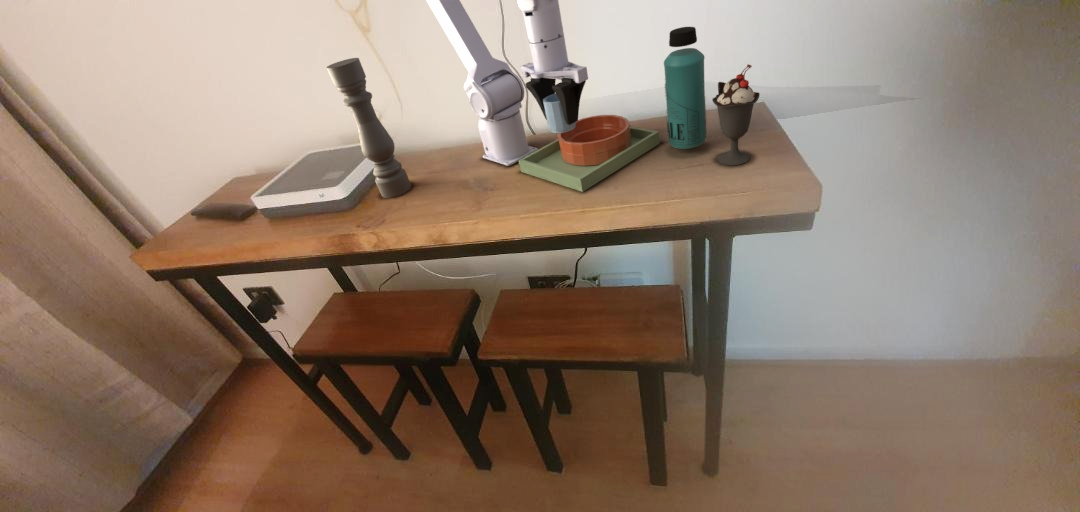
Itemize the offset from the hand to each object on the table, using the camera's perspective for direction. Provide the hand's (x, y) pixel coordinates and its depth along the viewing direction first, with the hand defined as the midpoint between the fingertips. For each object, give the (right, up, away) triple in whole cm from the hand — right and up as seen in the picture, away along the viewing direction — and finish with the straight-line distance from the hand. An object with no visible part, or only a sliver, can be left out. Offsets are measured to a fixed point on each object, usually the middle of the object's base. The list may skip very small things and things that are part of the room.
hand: (561, 120), depth 84 cm
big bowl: (+7, -4, +7) cm, 11 cm away
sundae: (+28, -8, -6) cm, 30 cm away
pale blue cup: (0, -1, +1) cm, 1 cm away
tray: (+5, -5, +6) cm, 10 cm away
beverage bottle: (+22, -5, +1) cm, 23 cm away
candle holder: (-33, -11, +13) cm, 37 cm away
